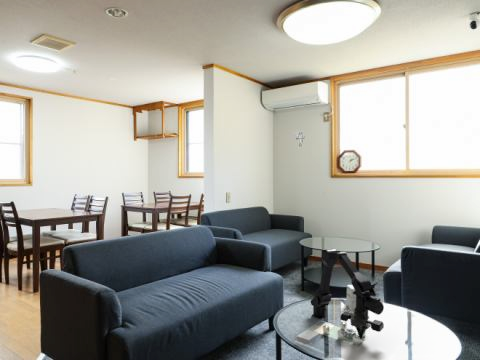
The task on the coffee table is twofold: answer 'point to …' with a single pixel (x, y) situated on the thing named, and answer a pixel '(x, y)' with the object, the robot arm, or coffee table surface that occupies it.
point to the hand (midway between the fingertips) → (360, 338)
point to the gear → (349, 333)
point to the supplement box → (351, 297)
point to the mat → (336, 333)
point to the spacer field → (342, 333)
